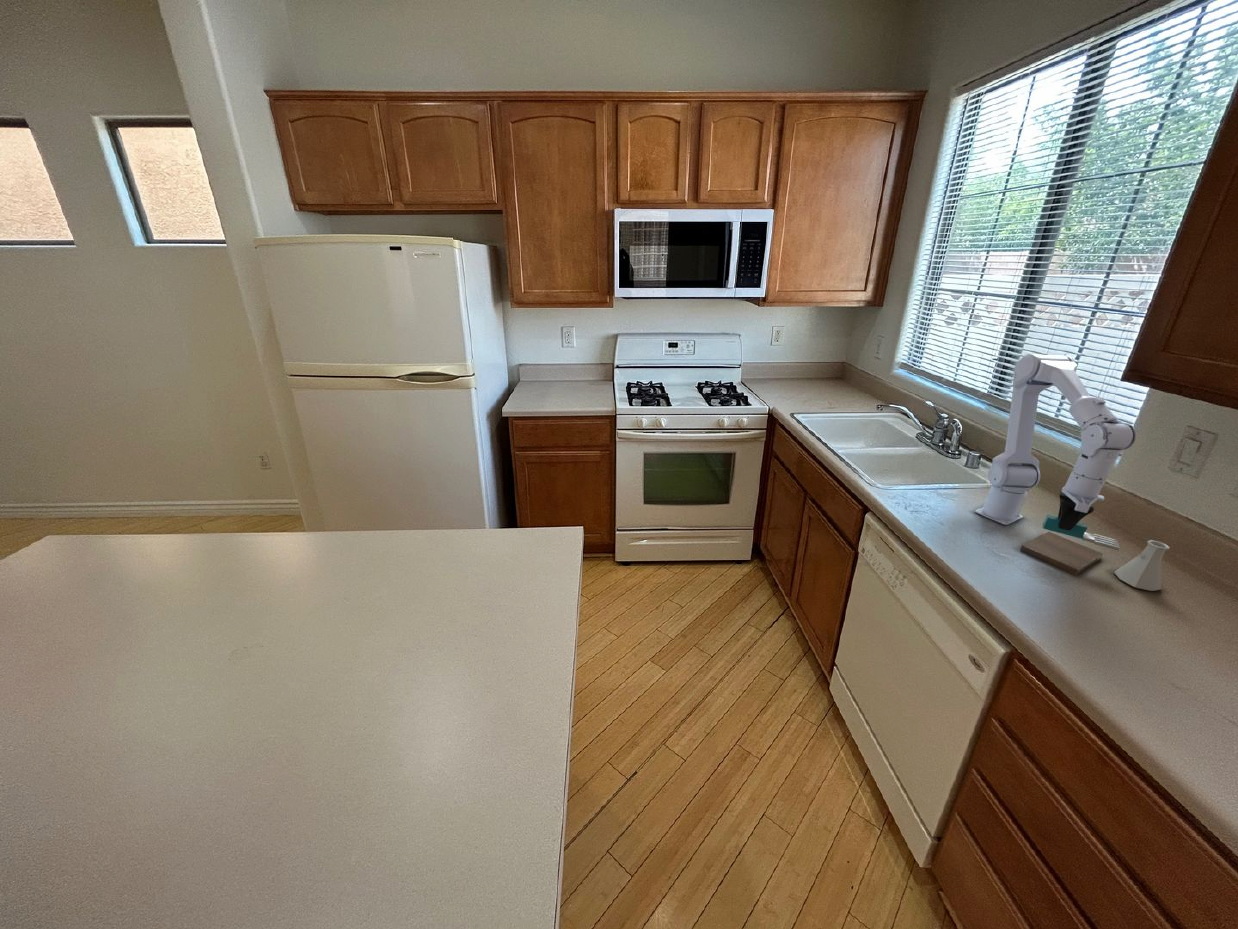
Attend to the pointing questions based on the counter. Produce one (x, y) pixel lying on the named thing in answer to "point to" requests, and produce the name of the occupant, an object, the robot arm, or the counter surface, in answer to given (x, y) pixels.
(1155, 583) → the flask
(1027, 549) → the cutting board
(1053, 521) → the fork
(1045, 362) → the robot arm
